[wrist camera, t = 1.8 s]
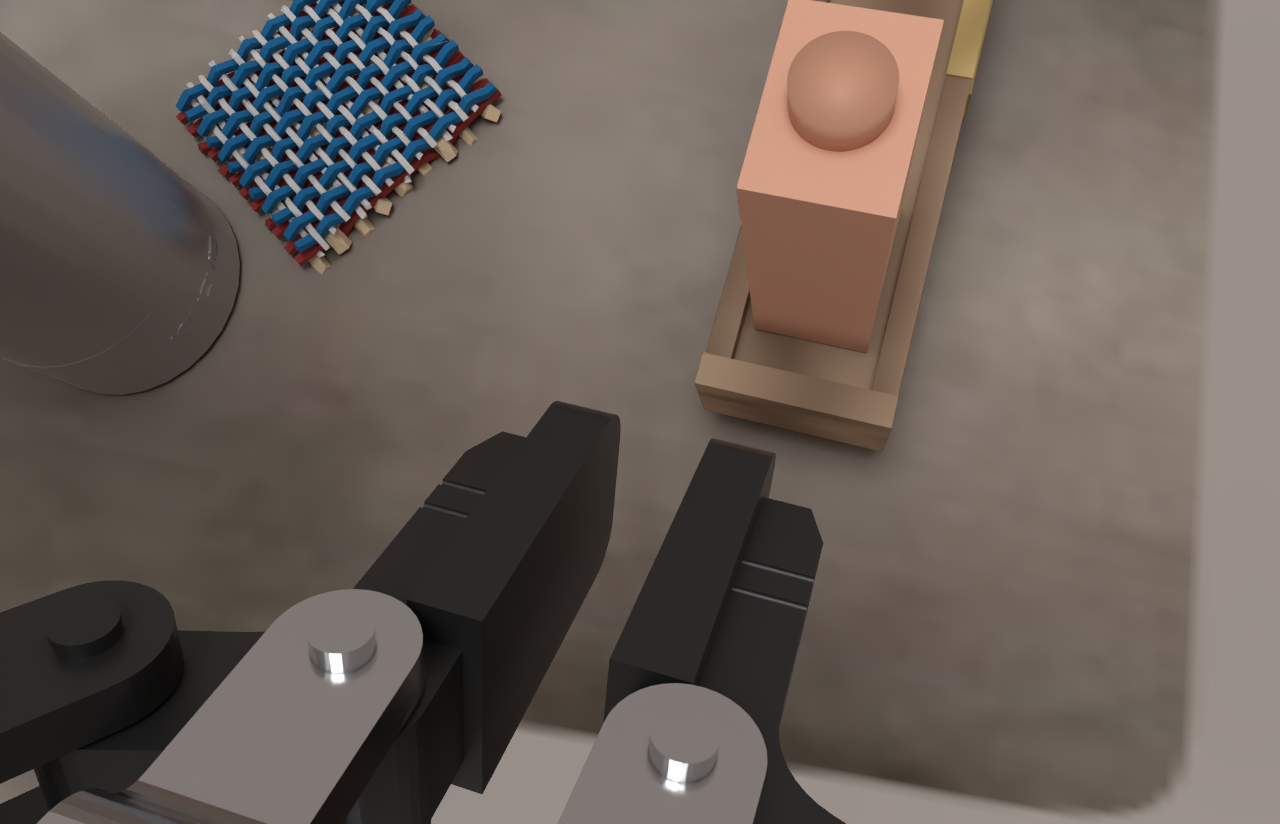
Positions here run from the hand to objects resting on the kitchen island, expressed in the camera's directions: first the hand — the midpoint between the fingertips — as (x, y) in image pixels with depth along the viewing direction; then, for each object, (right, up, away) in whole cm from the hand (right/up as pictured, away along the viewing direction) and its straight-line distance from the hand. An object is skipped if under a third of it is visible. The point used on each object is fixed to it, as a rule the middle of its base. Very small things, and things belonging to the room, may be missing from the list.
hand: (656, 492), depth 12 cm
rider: (+6, +5, +21) cm, 23 cm away
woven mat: (-12, +13, +31) cm, 36 cm away
